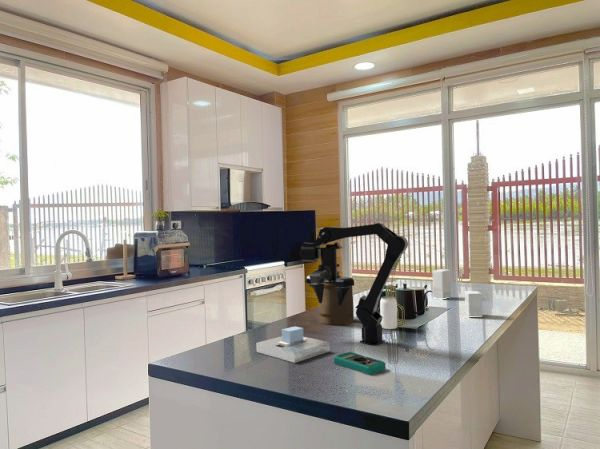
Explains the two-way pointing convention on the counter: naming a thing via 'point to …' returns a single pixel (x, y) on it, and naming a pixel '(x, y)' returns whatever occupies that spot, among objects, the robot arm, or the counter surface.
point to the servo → (292, 336)
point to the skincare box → (441, 283)
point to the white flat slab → (293, 349)
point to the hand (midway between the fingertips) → (329, 304)
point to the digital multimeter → (360, 363)
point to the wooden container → (336, 306)
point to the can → (388, 312)
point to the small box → (473, 303)
